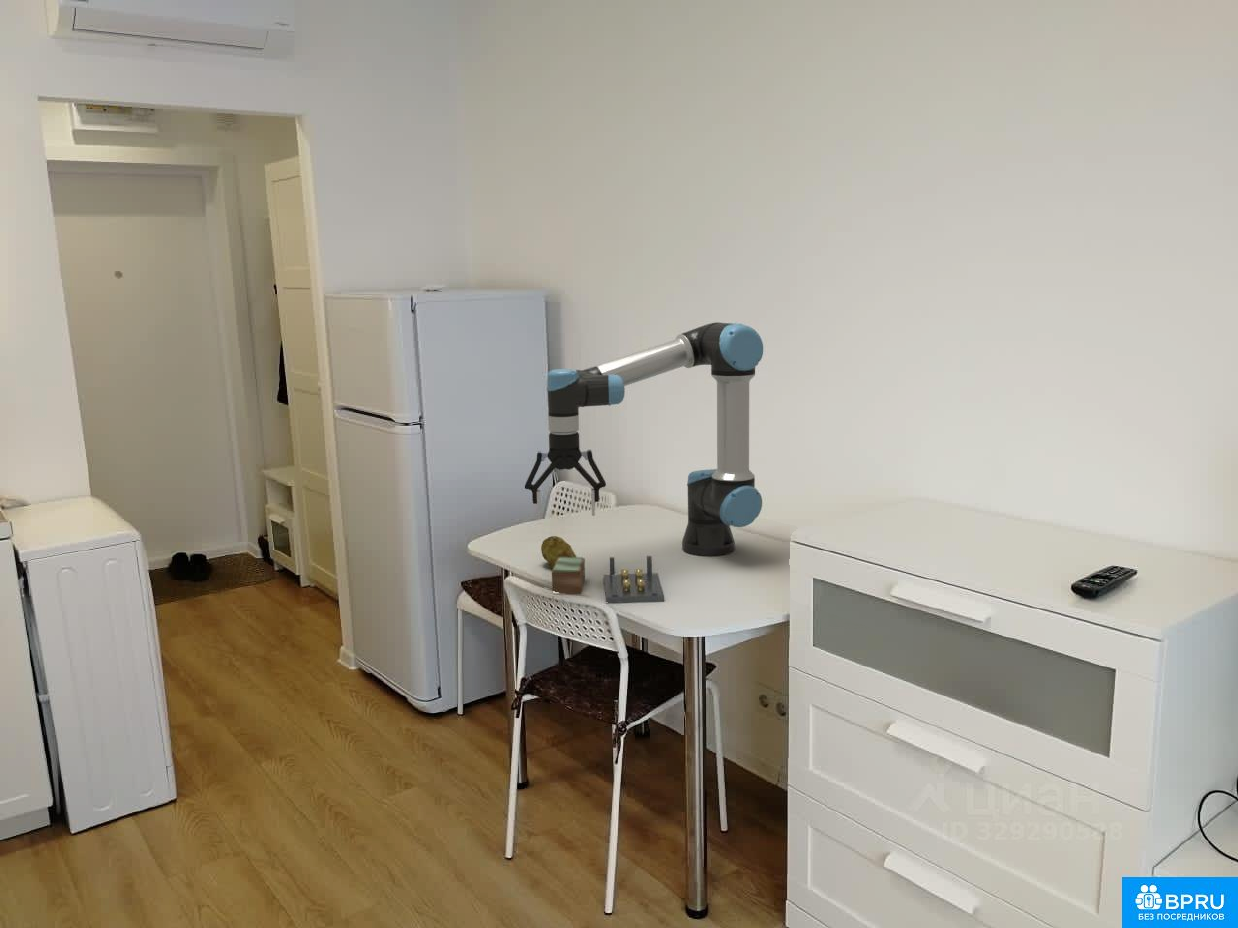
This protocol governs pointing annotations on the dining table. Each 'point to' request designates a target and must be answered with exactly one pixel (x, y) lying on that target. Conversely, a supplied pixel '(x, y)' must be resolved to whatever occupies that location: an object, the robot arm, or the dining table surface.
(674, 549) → the dining table surface
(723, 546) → the robot arm
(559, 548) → the potato
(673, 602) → the dining table surface
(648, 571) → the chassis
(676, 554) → the dining table surface
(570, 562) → the block
